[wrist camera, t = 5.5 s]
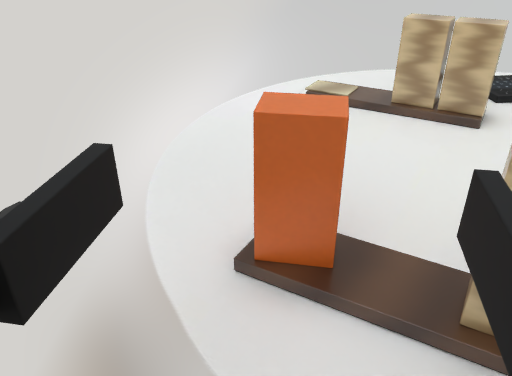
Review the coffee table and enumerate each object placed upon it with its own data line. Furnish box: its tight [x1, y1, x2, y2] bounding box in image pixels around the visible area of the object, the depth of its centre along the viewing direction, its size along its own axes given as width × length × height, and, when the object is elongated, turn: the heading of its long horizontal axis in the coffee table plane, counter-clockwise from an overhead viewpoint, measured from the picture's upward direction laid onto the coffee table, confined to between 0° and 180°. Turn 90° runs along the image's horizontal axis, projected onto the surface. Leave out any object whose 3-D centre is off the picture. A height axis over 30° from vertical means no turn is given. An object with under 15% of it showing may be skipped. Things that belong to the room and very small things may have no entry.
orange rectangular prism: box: [254, 92, 349, 268], centre depth 27 cm, size 5×4×10 cm
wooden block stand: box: [234, 145, 512, 375], centre depth 24 cm, size 24×6×11 cm, turn 60°
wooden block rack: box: [305, 14, 509, 129], centre depth 55 cm, size 22×6×11 cm, turn 60°
